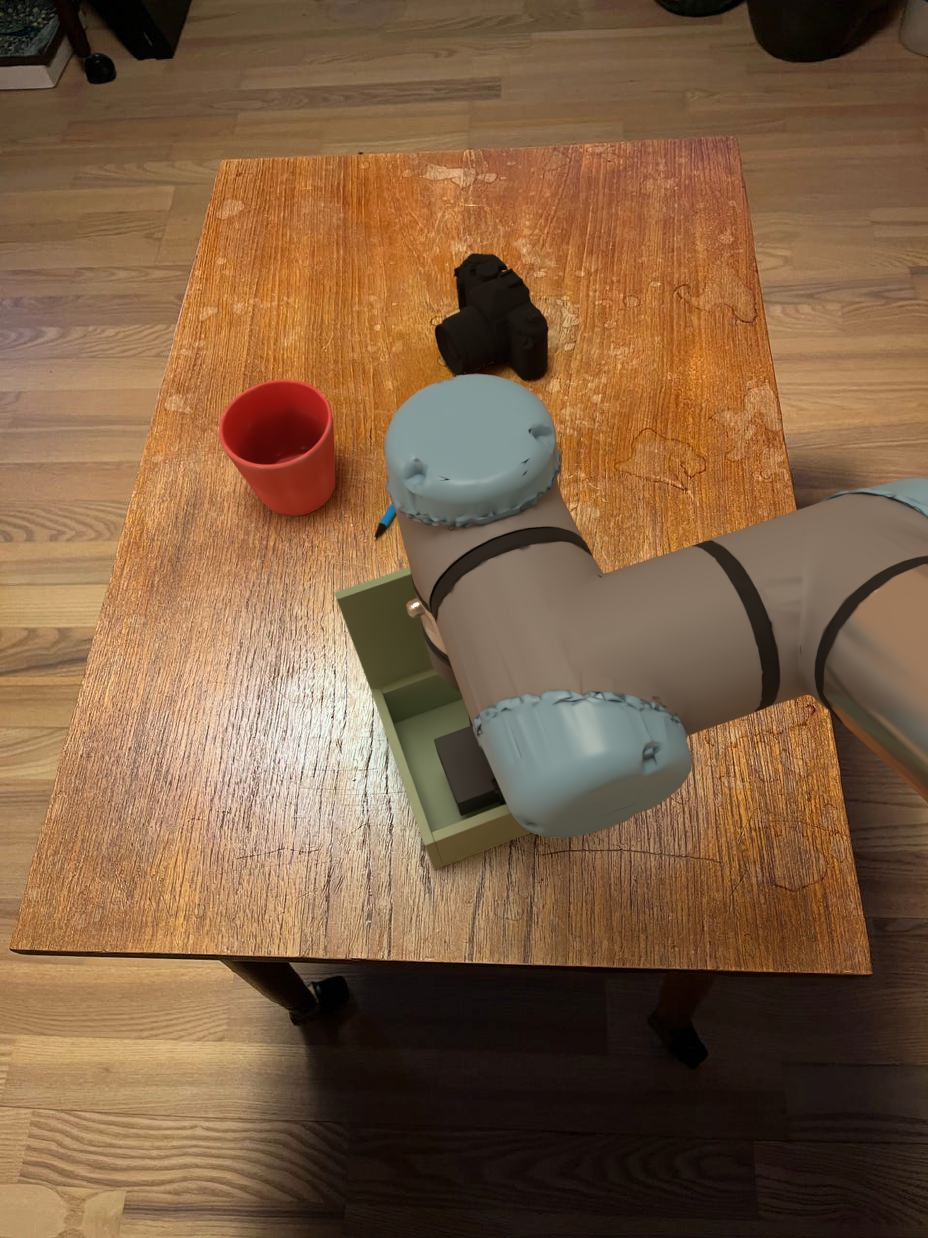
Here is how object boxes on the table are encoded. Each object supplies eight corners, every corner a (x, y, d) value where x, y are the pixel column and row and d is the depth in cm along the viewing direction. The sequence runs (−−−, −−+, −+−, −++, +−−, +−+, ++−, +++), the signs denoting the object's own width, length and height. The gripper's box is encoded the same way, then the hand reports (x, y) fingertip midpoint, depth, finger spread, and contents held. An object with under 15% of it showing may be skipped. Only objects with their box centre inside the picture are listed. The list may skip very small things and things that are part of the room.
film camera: (414, 329, 102) (403, 263, 95) (487, 295, 104) (482, 227, 96) (483, 412, 95) (478, 348, 87) (560, 374, 97) (562, 307, 89)
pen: (465, 407, 96) (464, 399, 95) (378, 543, 88) (377, 536, 87) (457, 404, 96) (457, 397, 95) (371, 540, 88) (369, 533, 87)
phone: (569, 775, 70) (570, 761, 68) (460, 816, 69) (457, 803, 67) (542, 714, 73) (542, 699, 70) (437, 753, 72) (433, 739, 69)
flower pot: (368, 459, 93) (351, 392, 85) (321, 542, 88) (298, 479, 80) (278, 434, 96) (253, 366, 87) (227, 513, 91) (196, 449, 83)
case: (615, 800, 73) (621, 771, 67) (434, 870, 72) (424, 845, 66) (550, 662, 80) (550, 624, 74) (383, 722, 78) (370, 688, 72)
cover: (556, 523, 61) (553, 517, 61) (336, 599, 59) (334, 592, 60) (552, 625, 74) (549, 619, 74) (370, 690, 72) (368, 683, 72)
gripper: (375, 511, 55) (420, 681, 75) (482, 780, 46) (500, 892, 66) (490, 472, 56) (504, 650, 76) (618, 729, 47) (595, 855, 67)
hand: (502, 762), depth 71 cm, fingers closed on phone, 5 cm apart
